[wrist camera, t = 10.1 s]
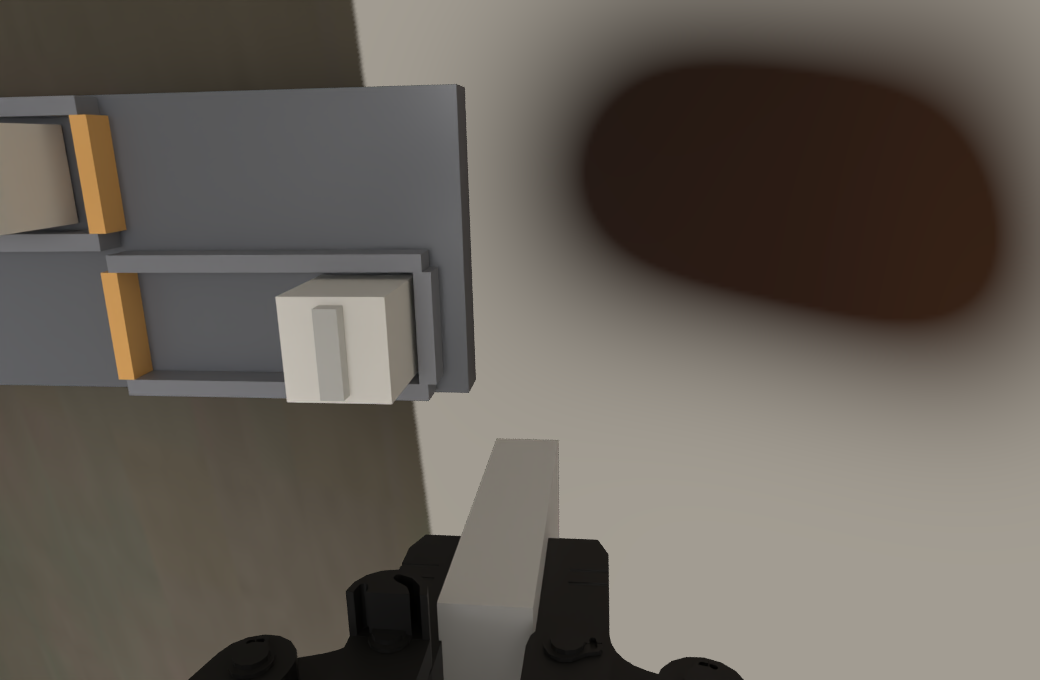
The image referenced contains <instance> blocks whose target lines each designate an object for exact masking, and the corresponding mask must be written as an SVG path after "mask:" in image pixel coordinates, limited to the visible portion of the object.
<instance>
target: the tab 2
mask: <svg viewBox="0 0 1040 680" xmlns="http://www.w3.org/2000/svg"><path fill="white" fill-rule="evenodd" d="M275 298H276V307H277V316H278V325H279V334H280V343H281V352H282V361H283V370H284V379H285V388H286V397H287V402H299V403H352V404H393V402H394V401H395V400H396V399H397V397H398V396H399V395H400V394H401V392H402V391H403V390H404V389H405V387H406V386H407V385H408V383H409V382H410V381H411V380H412V378H413V377H414V376H415V375H416V373H417V372H418V371H419V368H418V351H417V335H416V318H415V301H414V284H413V275H320V276H318V277H316V278H314V279H311V280H309V281H307V282H305V283H303V284H301V285H299V286H297V287H295V288H293V289H290V290H288V291H286V292H284V293H282V294H280V295H278V296H276V297H275Z"/></svg>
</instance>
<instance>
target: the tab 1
mask: <svg viewBox="0 0 1040 680" xmlns="http://www.w3.org/2000/svg"><path fill="white" fill-rule="evenodd" d="M76 223H78V217H77V211H76V206H75V200H74V195H73V189H72V183H71V178H70V172H69V167H68V161H67V155H66V150H65V144H64V139H63V133H62V127H61V125H54V124H21V123H0V235H6V234H13V233H19V232H25V231H32V230H38V229H44V228H51V227H57V226H64V225H70V224H76Z"/></svg>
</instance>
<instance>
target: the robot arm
mask: <svg viewBox="0 0 1040 680" xmlns="http://www.w3.org/2000/svg"><path fill="white" fill-rule="evenodd" d="M558 447H559V443H558V440H531V439H496V442H495V445H494V447H493V450H492V453H491V456H490V458H489V461H488V464H487V466H486V469H485V472H484V475H483V478H482V481H481V483H480V486H479V488H478V491H477V494H476V497H475V499H474V502H473V505H472V508H471V511H470V514H469V516H468V519H467V521H466V525H465V527H464V530H463V532H462V535H461V536H446V535H425V536H424V537H422V538H421V539H420V540H419V541H417V542H416V543H415V544H414V545H412V546H411V547H410V548H409V550H408V552H407V554H406V556H405V558H404V560H403V562H402V566H401V567H400V569H399V570H386V571H379V572H376V573H372V574H369V575H366V576H364V577H363V578H361V579H359V580H357V581H355V582H354V583H353V584H352V585H351V586H350V587H349V588H348V589H347V591H346V599H347V610H348V620H349V631H350V637H349V639H348V641H347V643H346V645H345V647H344V648H342V649H339V650H336V651H332V652H328V653H324V654H318V655H312V656H306V657H300V658H297V650H296V648H295V647H294V645H293V644H292V642H291V641H289V640H287V639H285V638H283V637H281V636H275V635H260V636H254V637H248V638H245V639H243V640H240V641H238V642H235V643H233V644H231V645H229V646H228V647H226V648H225V649H224V650H222V651H221V652H219V653H218V654H217V655H216V656H214V657H213V658H212V659H211V660H210V661H209V662H208V663H207V664H205V665H204V666H203V667H202V668H201V669H200V670H199V671H198V672H196V673H195V674H194V675H193V676H192V677H191V678H190V679H189V680H743V679H742V678H741V676H740V675H739V674H738V673H737V672H736V671H735V670H733V669H731V668H730V667H728V666H726V665H724V664H723V663H721V662H717V661H714V660H711V659H707V658H701V657H699V658H698V657H686V658H681V659H678V660H674V661H671V662H670V663H669V664H667V665H666V666H664V667H663V668H662V669H661V670H660V672H659V674H656V673H653V672H649V671H646V670H644V669H641V668H639V667H636V666H634V665H632V664H631V663H629V662H627V661H626V660H624V659H623V658H622V657H621V656H620V655H619V654H618V653H617V652H616V651H615V649H614V647H613V646H612V644H611V641H610V636H609V567H608V566H609V565H608V553H607V552H606V550H605V549H604V548H603V546H602V545H601V544H600V542H599V541H598V540H587V539H565V538H559V454H558V453H559V452H558V451H559V448H558Z"/></svg>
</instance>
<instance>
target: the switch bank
mask: <svg viewBox="0 0 1040 680" xmlns="http://www.w3.org/2000/svg"><path fill="white" fill-rule="evenodd" d="M0 123H21V124H54V125H61V127H62V133H63V139H64V144H65V150H66V155H67V161H68V167H69V172H70V178H71V183H72V189H73V195H74V200H75V206H76V211H77V217H78V223H76V224H70V225H64V226H57V227H51V228H44V229H38V230H32V231H25V232H19V233H13V234H6V235H0V385H48V386H107V387H128V390H129V395H139V396H193V397H247V398H287V397H286V388H285V379H284V370H283V361H282V352H281V343H280V334H279V325H278V316H277V307H276V298H275V297H276V296H278V295H280V294H282V293H284V292H286V291H288V290H290V289H293V288H295V287H297V286H299V285H301V284H303V283H305V282H307V281H309V280H311V279H314V278H316V277H318V276H320V275H413V284H414V301H415V318H416V335H417V351H418V368H419V371H418V372H417V373H416V375H415V376H414V377H413V378H412V380H411V381H410V382H409V383H408V385H407V386H406V387H405V389H404V390H403V391H402V392H401V394H400V395H399V396H398V397H397V399H396V400H410V401H429V400H430V398H431V397H432V395H433V394H434V392H460V393H469V391H470V389H471V387H472V386H473V384H474V382H475V380H476V373H475V346H474V319H473V293H472V269H471V268H472V267H471V243H470V242H471V241H470V216H469V189H468V163H467V138H466V137H467V136H466V111H465V88H464V87H462V86H460V85H457V84H448V85H447V84H446V85H414V86H382V87H381V86H380V87H346V88H313V89H280V90H247V91H214V92H181V93H148V94H115V95H82V96H75V95H70V96H37V97H4V98H0Z"/></svg>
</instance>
